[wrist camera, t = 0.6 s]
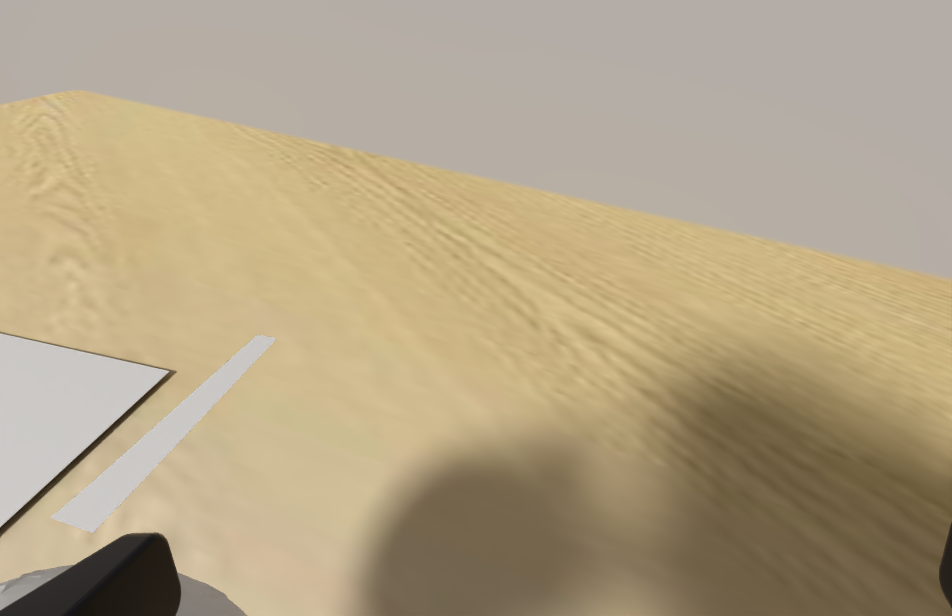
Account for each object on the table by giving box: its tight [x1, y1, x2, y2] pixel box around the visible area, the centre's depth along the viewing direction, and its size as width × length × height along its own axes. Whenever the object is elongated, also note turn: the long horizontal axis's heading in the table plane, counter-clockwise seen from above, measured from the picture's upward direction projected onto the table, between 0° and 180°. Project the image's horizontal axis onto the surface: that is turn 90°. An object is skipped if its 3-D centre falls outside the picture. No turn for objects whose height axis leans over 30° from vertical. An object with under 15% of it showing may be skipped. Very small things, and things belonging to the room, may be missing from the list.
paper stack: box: [0, 333, 277, 533], centre depth 34 cm, size 23×25×1 cm
